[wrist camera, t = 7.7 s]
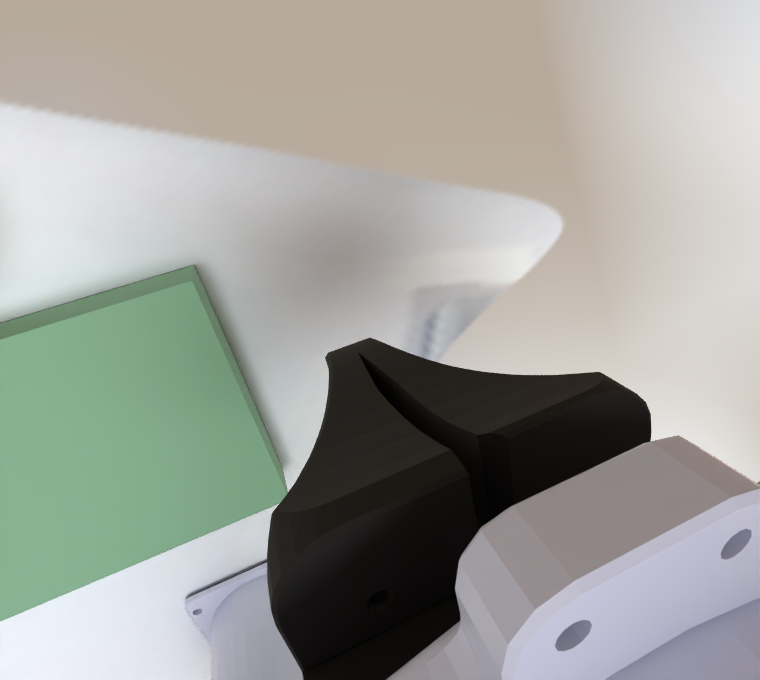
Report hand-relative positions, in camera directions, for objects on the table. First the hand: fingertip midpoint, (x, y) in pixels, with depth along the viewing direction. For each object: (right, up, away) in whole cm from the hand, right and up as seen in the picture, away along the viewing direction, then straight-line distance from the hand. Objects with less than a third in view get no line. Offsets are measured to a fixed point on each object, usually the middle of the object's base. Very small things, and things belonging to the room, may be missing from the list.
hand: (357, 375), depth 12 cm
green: (-15, -4, +8) cm, 18 cm away
